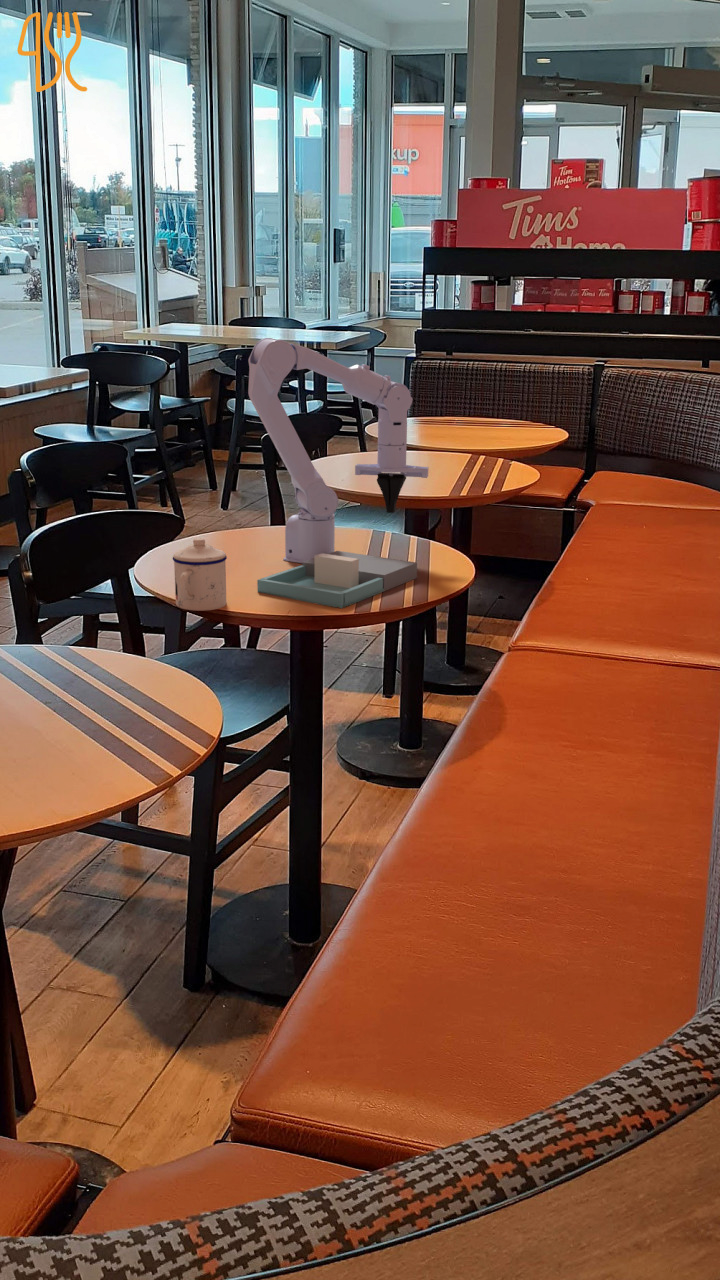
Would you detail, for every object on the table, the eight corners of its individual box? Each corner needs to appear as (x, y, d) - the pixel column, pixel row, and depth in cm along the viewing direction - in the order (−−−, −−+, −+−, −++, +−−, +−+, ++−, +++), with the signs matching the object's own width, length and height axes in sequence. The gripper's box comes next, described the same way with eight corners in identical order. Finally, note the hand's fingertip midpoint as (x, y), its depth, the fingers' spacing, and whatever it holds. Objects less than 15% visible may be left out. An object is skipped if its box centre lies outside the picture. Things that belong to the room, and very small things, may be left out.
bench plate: (302, 577, 215) (302, 562, 214) (337, 565, 225) (337, 550, 224) (384, 591, 206) (384, 575, 205) (416, 578, 216) (417, 562, 215)
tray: (257, 593, 204) (257, 579, 203) (302, 577, 215) (302, 564, 214) (341, 608, 195) (341, 594, 194) (384, 591, 206) (384, 577, 205)
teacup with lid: (188, 597, 201) (185, 532, 198) (236, 601, 199) (234, 535, 195) (157, 614, 190) (154, 546, 187) (208, 619, 188) (206, 550, 184)
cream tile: (322, 579, 212) (314, 582, 210) (322, 553, 210) (314, 555, 208) (358, 585, 208) (351, 588, 206) (358, 558, 206) (351, 561, 204)
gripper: (352, 445, 223) (351, 513, 227) (425, 447, 220) (423, 517, 224) (359, 440, 230) (358, 507, 234) (430, 443, 227) (428, 510, 231)
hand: (390, 511), depth 229 cm, fingers closed
